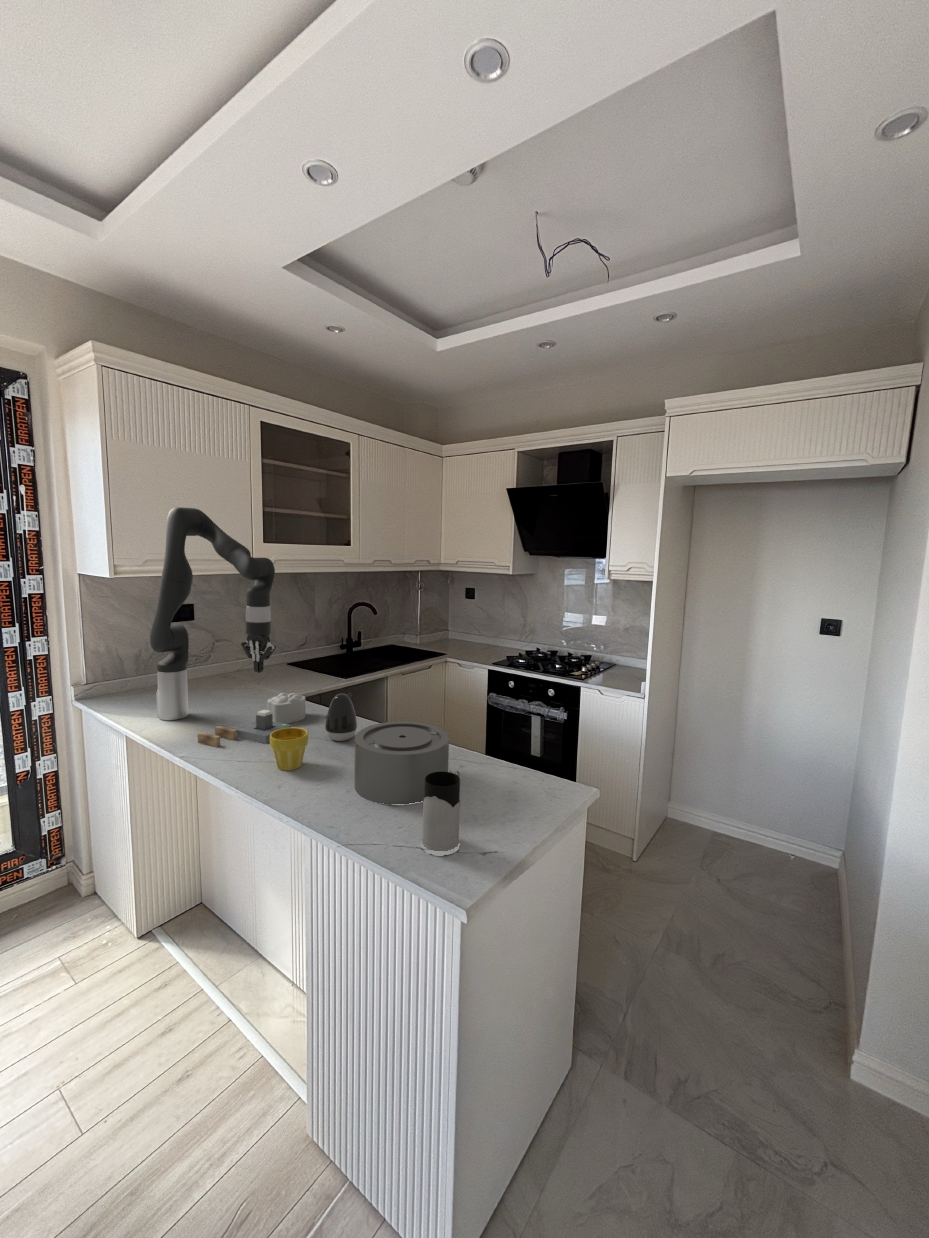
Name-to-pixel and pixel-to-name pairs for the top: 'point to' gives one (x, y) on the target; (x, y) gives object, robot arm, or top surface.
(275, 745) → the plant pot
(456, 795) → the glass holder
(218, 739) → the pair of wooden planks
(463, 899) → the top surface
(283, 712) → the white lumpy box
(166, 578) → the robot arm
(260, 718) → the plug
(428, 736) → the container
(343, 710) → the dark grey egg shape
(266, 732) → the port
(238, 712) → the top surface
